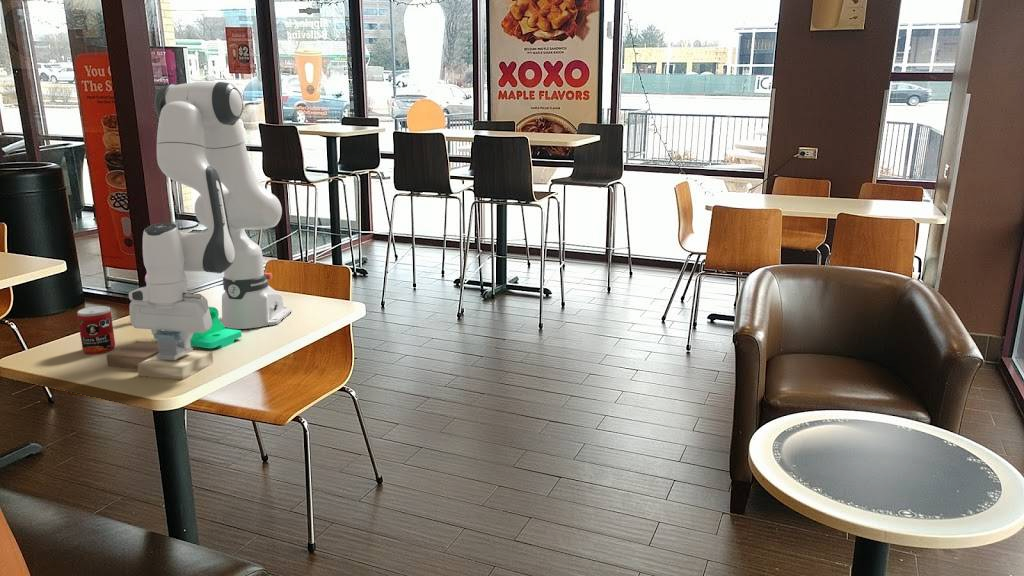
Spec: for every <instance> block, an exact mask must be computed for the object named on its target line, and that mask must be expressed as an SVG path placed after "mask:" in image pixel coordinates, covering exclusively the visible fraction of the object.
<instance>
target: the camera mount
mask: <svg viewBox="0 0 1024 576" xmlns="http://www.w3.org/2000/svg"><path fill="white" fill-rule="evenodd" d="M208 308H209V311H210V315H211V320H212V327H211V328H210V329H209V330H208V331H205V332H203V333H197V332H194V334H193V336H192V338H191V340H190V345H191V346H190V347H198V348H203V349H214V348H219V349H222V348H225V347H228V346H230V345H232V344H235V340H237V339H239V338H242V329H233V328H227V327H225V326H224V325H223V323H222V322H221V321H220V320H219V318H220V317H219V309H217V308H216V307H214V306H208Z"/></svg>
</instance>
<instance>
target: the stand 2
mask: <svg viewBox="0 0 1024 576" xmlns="http://www.w3.org/2000/svg"><path fill="white" fill-rule="evenodd" d="M213 357H214V356H213V351H209V350H196V349H193V351H192V352H190V353H188V354H186V355H184V356H182V357H180V358H178V359H176V360H168V359H157V358H156V355H155V356H153V357H151V358H149V359H147V360H145V361H143V362H141V363H139V364H138V368H137V370H138V376H140V377H146V376H148V377H149V378H158V379H159V378H160V379H169V378H170V379H173V380H182V381H183V380H185V379H187V378H189V377H191V376H192V375H195V374H196V373H198V372H200V371H201V370H203V369H205V368H208V367H209V366H210V365H212V364H214V358H213Z"/></svg>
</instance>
